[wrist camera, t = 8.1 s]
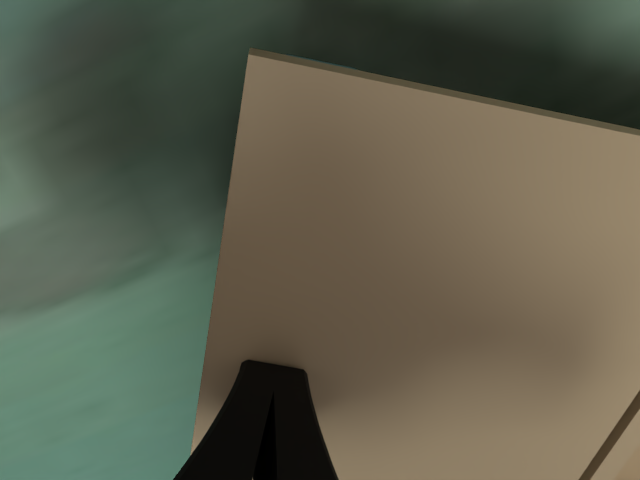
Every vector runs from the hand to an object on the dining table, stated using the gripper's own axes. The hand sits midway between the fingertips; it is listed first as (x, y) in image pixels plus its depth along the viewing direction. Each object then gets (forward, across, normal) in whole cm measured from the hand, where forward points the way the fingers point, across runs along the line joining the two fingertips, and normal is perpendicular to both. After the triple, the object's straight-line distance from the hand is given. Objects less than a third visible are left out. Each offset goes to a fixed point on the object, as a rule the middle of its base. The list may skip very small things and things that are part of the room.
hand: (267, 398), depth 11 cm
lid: (0, -4, 0) cm, 4 cm away
